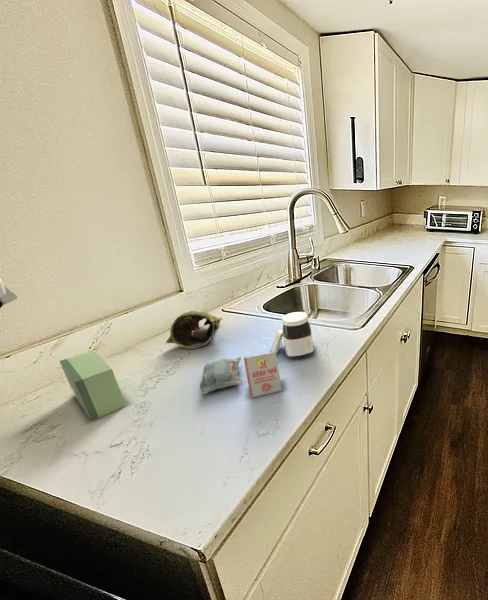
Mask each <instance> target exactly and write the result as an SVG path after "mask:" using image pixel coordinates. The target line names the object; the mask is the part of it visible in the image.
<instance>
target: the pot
mask: <svg viewBox="0 0 488 600" xmlns="http://www.w3.org/2000/svg"><path fill="white" fill-rule="evenodd" d="M202 320H205V321H204V323H203V326H207V325H209V326H208V329H207V331H206V334H205V336H203V337H199V336H196V335H195V334H193V332H197V330H200V328H201V327H200V322H201V321H202ZM222 320H223V317H218V316H216V315H212V314H210V313H208V312H206V311H201V310H198V311H197V310H190V311H187V312H184V313H182V314H181V315H179V316H177V317H176V318H175V320H174V321H173V323H172V324H171V327H170V333H169V334H170V335H169V337H168V338H167V340H166V341H165V345H167V344H175V345H177V346H179V347H182V348H185V349H186V348H187V349H196V348H200V347H203V346H205V345H207V344H208V342H210V341H211V339H212V338H213V337H214V334H215V333H216V331H217V330H219V328H220V323H221V321H222ZM197 344H199V345H197Z"/></svg>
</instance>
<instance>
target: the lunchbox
mask: <svg viewBox="0 0 488 600" xmlns="http://www.w3.org/2000/svg"><path fill="white" fill-rule="evenodd" d="M59 364H60V366H61V368H62V370H63V372H64V375H65V377H66V379H67V382H68V384H69V389H70V391H71V392H72V393H73V395H74V397H75V398H76V400H77V402H78V403H79V405H80V406H81V407H82V409H83V410H84V412H85V413H86V415H87V417H88V418H89V419H90V421H91V422H92V421H94V420H96V419H98V418H101V417H103V416H105V415H107V414H111V413H112V412H115V411H117V410H118V409H119V410H120V409H121V408H123V407H126V406H127V405H126V402H125V400H124V397H123V394H122V392H121V389H120V387H119V386H120V385H119V384H118V381H117V378H116V376H115V373H114V371H113V368H111V366H110V365H109V364H108V363H107V362H106V361H105V360H104V359H103V358H102V357H101V355H99V354H98V353H97V352H96V351H95V350H94V349H93V350H89V351H87V352H84V353H81V354H80V353H79V354H78V355H74V356H71V357H68V358H64V359H61V360H59Z"/></svg>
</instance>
